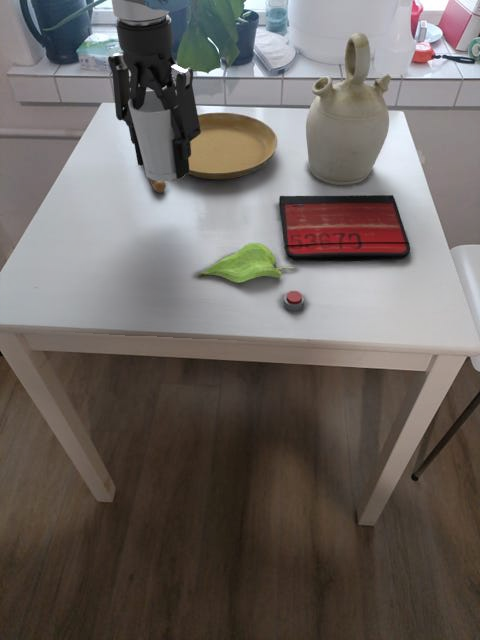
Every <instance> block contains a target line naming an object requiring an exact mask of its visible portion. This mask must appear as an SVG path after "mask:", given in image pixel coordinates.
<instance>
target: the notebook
mask: <svg viewBox="0 0 480 640" xmlns="http://www.w3.org/2000/svg"><path fill="white" fill-rule="evenodd" d="M278 200H279V201H278V202H279V203H278V205H279V213H280V221H281V222H280V223H281V231H282V237H283V239H282V240H283V244H284V246H283V248H284V251H285V254H286V256H287V257H288V258H289V259H290V260H293V261H296V262H367V261H371V262H372V261H390V260H401V259H405V258H407V257H408V256H409V255H410V254H411V246H410V245H411V244H410V242H409V239H408V236H407V232H406V229H405V227H404V223H403V220H402V216H401V214H400V211H399V208H398V205H397V202H396V198H395V196H394V195H393V194H373V195H372V194H369V195H368V194H366V195H364V194H363V195H361V194H360V195H358V194H357V195H354V194H353V195H279V199H278Z"/></svg>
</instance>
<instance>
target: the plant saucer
mask: <svg viewBox="0 0 480 640" xmlns="http://www.w3.org/2000/svg"><path fill="white" fill-rule="evenodd" d="M198 119H199V125H200V130H201V133H200V134H199V135H198V136H197V137H196V138H194V139H193V140H192V141H190V144H191V156H190V157H189V158H188V159H189V170H190V171H189V172H188V173H187V174H186V175H190V176H193V177H196V178H199V179H206V180H229V179H236V178H239V177H243V176H246V175H248V174H251V173H253V172H255V171H257V170H259V169H261V167H263V166H264V165H265V164H267V163H268V162H269V161H270V160H271V158H272V157H273V155H274V153H275V152H276V149H277V148H278V137H277V135H276V133H275V131H274V130H273V129H272V128H271V126H269V125H268V124H266V123H265V122H263V121H262V120H259V119H257V118H255V117H252V116H249V115H245V114H241V113H234V112H208V113H207V112H206V113H199V114H198ZM182 131H183V130H182Z"/></svg>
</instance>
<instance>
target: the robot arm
mask: <svg viewBox="0 0 480 640" xmlns="http://www.w3.org/2000/svg"><path fill="white" fill-rule="evenodd" d="M191 2H192V0H111V6H112V11H113V15H114V16H115V17H116V21H115V28H116V33H117V39H118V44H119V48H120V49H121V50H119V51H117V52H115V53H113V54H111V55H110V56H108V57H107V62H108V65H109V67H110V70H111V71H110V72H111V75H112V85H113V97H114V108H115V109H114V110H115V117H116V119H117V120H118V121H123V122H124V123H125V125H126V126H127V128H128V130H129V136H130V141H131V143H132V144H133V145H134V151H135V156H136V161H137V165H138V166H140V167H142V166H144V165H143V164H144V163H143V159H142V155H141V151H140V147H139V143H138V139H137V135H136V131H135V127H134V124H133V120H132V116H131V112H130V109H129V105H128V101H129V99H132V103H133V107H134V109H136V110H139V109H140V108H141V107H142V106H143V104H144V99H145V94H146V91H147V89H149V90H154V92H155V94H156V96H157V98H159V99H160V100H161V102H162V105H163V107H164V110H168V109H169V110H170V118H171V127H172V129H173V131H174V134H175V136H176V139H175V140H173V150H174V159H175V167H176V176H177V178H176V179H178V180H179V179H180V180H181V179H183V177H185V176H186V175H188V174H187V173H188V172H189V171H190V170H189V159H188V158H189V157H190V156H191V144H190V141H192V140H193V139H194V138H196V137H197V136H198V135H199V134H200V133H201V130H200V125H199V119H198V115H199V113H198V109H197V104H196V98H195V93H194V87H193V80H194V70H193V68H191V67H186V68H183V67H181V66H179V65H177V63H176V61H175V59H174V56H173V47H174V34H173V33H174V32H173V26H172V25H173V23H172V18H171V17H170V15H169V13H170V12H177V11H180V10H182V9H184V8H186V7H187V6H188V5H189V4H190V3H191ZM177 105H178V106H177ZM176 106H177V107H176ZM174 107H176V108H174ZM182 130H183V131H182Z"/></svg>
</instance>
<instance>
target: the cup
mask: <svg viewBox="0 0 480 640" xmlns="http://www.w3.org/2000/svg"><path fill="white" fill-rule="evenodd" d="M128 105H129V109H130V112H131V116H132V120H133V124H134V127H135V131H136V135H137V139H138V143H139V147H140V151H141V155H142V159H143V163H144V165H143V167H144V173H145V175H146V177H147V178H148V179H149V178H150V179H152V180H155V181H164V182H168V181H173V180H175V179H178V178H177V176H176V167H175V159H174V150H173V140H175V139H176V136H175V134H174V131H173V129H172V127H171V118H170V110H169V109H168V110H164V107H163V105H162V102H161V100H160V99H159V98H157V96H156V94H155V92H154V90H152V89H147V90H146V94H145V99H144V104H143V106H142V107H141V108H140V109H139V110H136V109H134V107H133V103H132V99H129V101H128ZM177 106H178V105H177ZM177 106H176V107H177ZM176 107H174V108H176ZM150 179H149V180H150Z"/></svg>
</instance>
